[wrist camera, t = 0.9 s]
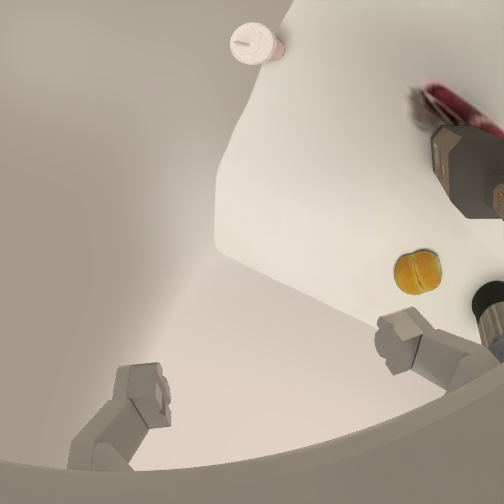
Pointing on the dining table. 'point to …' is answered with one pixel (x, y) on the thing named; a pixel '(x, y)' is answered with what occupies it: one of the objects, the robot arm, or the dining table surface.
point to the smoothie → (255, 44)
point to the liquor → (470, 169)
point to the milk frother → (491, 317)
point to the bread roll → (418, 273)
